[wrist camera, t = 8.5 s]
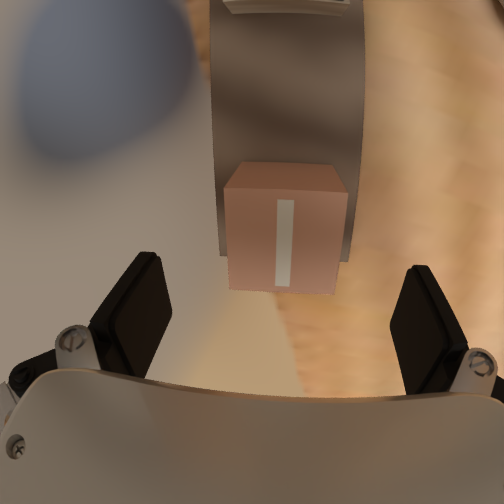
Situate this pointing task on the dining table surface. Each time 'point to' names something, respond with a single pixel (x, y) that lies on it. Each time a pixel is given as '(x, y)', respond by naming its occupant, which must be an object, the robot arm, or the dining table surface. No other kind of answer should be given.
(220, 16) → the board
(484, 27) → the dining table surface
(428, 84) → the dining table surface
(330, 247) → the taped shipping carton
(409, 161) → the dining table surface
